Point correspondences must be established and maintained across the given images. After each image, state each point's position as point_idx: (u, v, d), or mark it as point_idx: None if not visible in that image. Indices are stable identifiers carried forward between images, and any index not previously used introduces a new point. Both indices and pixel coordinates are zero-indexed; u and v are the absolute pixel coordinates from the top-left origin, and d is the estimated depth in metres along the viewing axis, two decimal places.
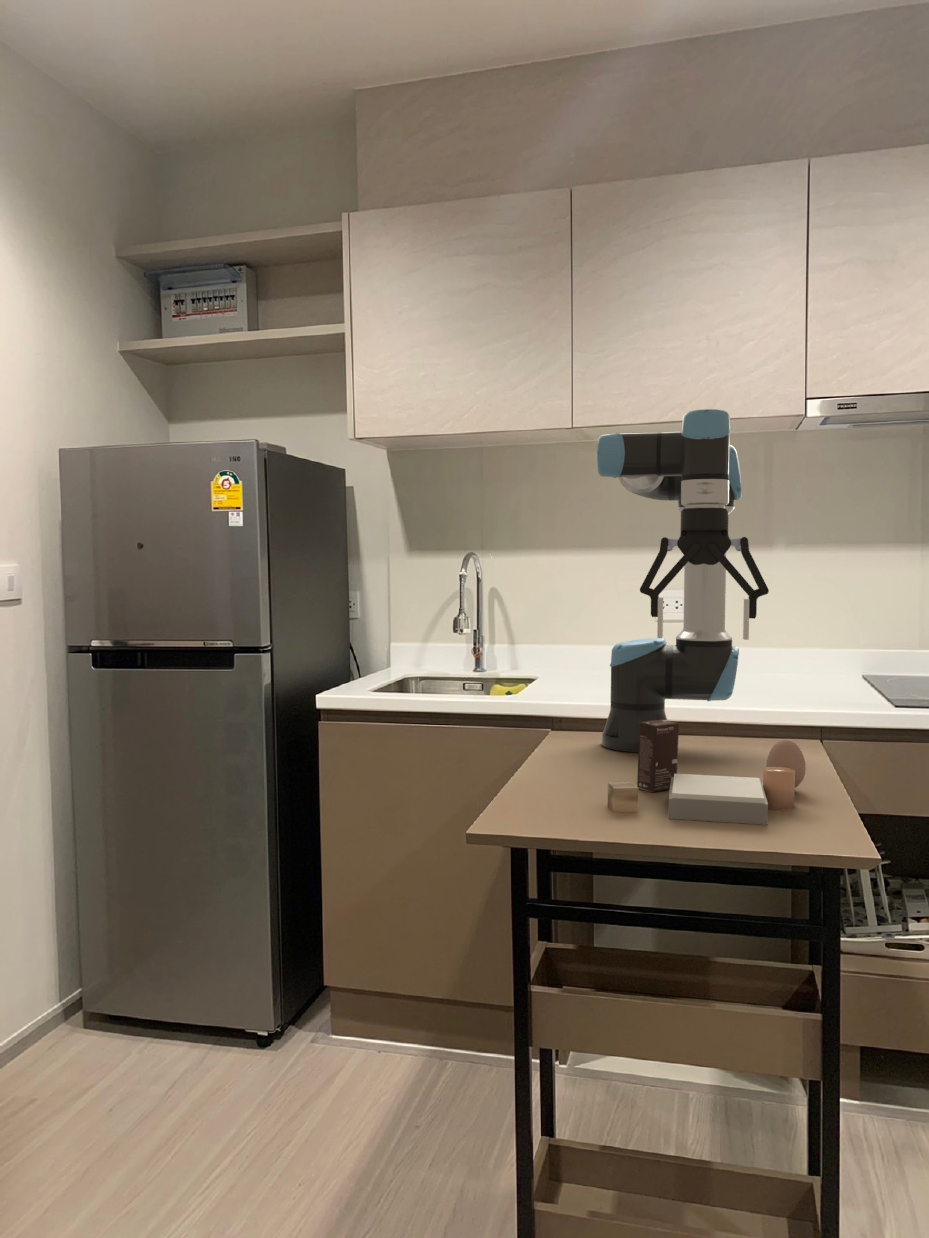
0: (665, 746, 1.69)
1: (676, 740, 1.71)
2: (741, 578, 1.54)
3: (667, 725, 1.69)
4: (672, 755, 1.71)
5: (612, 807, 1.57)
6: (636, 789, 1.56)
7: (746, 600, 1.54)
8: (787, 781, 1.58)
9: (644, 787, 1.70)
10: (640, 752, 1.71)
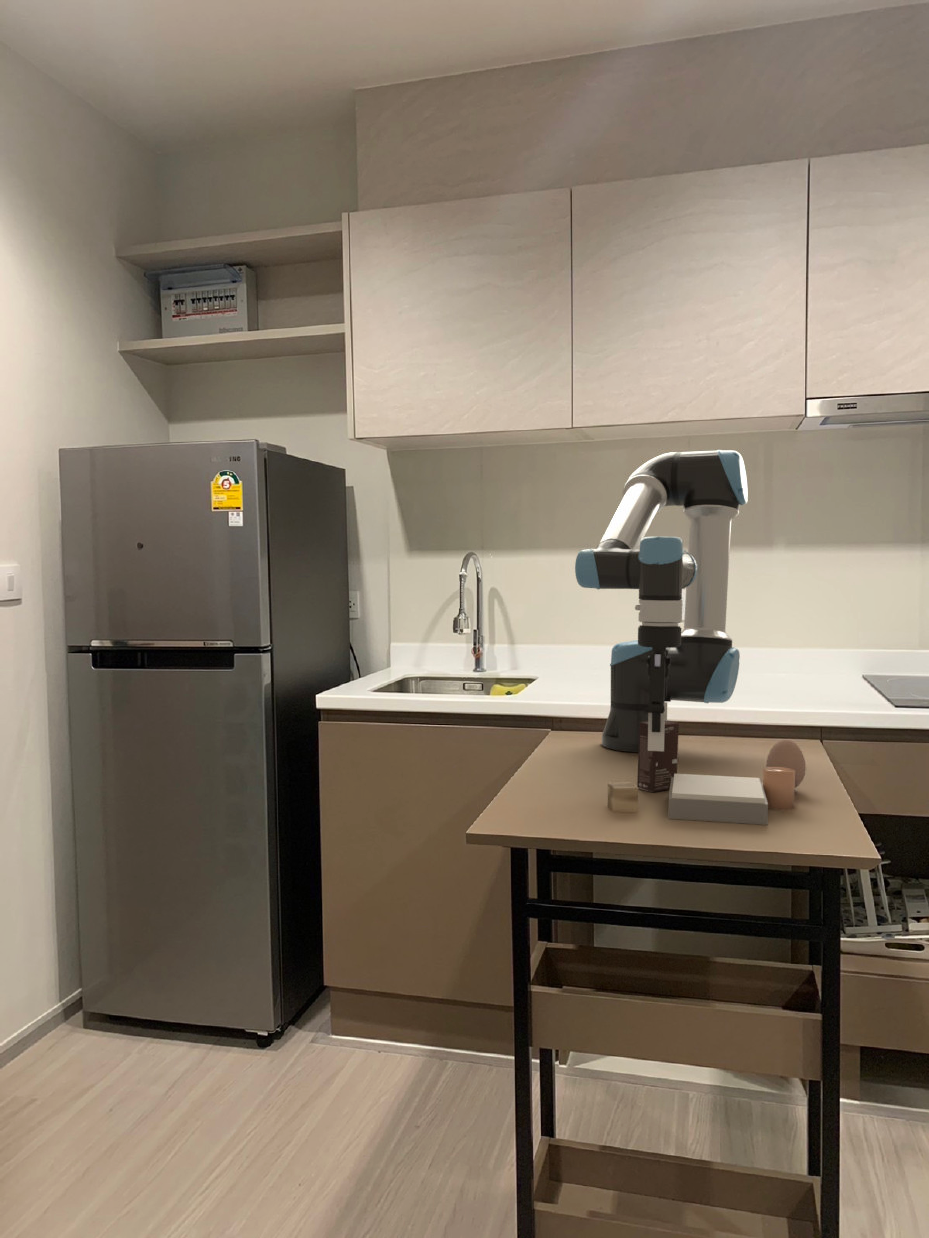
0: (665, 746, 1.69)
1: (676, 740, 1.71)
2: None
3: (667, 725, 1.69)
4: (672, 755, 1.71)
5: (612, 807, 1.57)
6: (636, 789, 1.56)
7: None
8: (787, 781, 1.58)
9: (644, 787, 1.70)
10: (640, 752, 1.71)
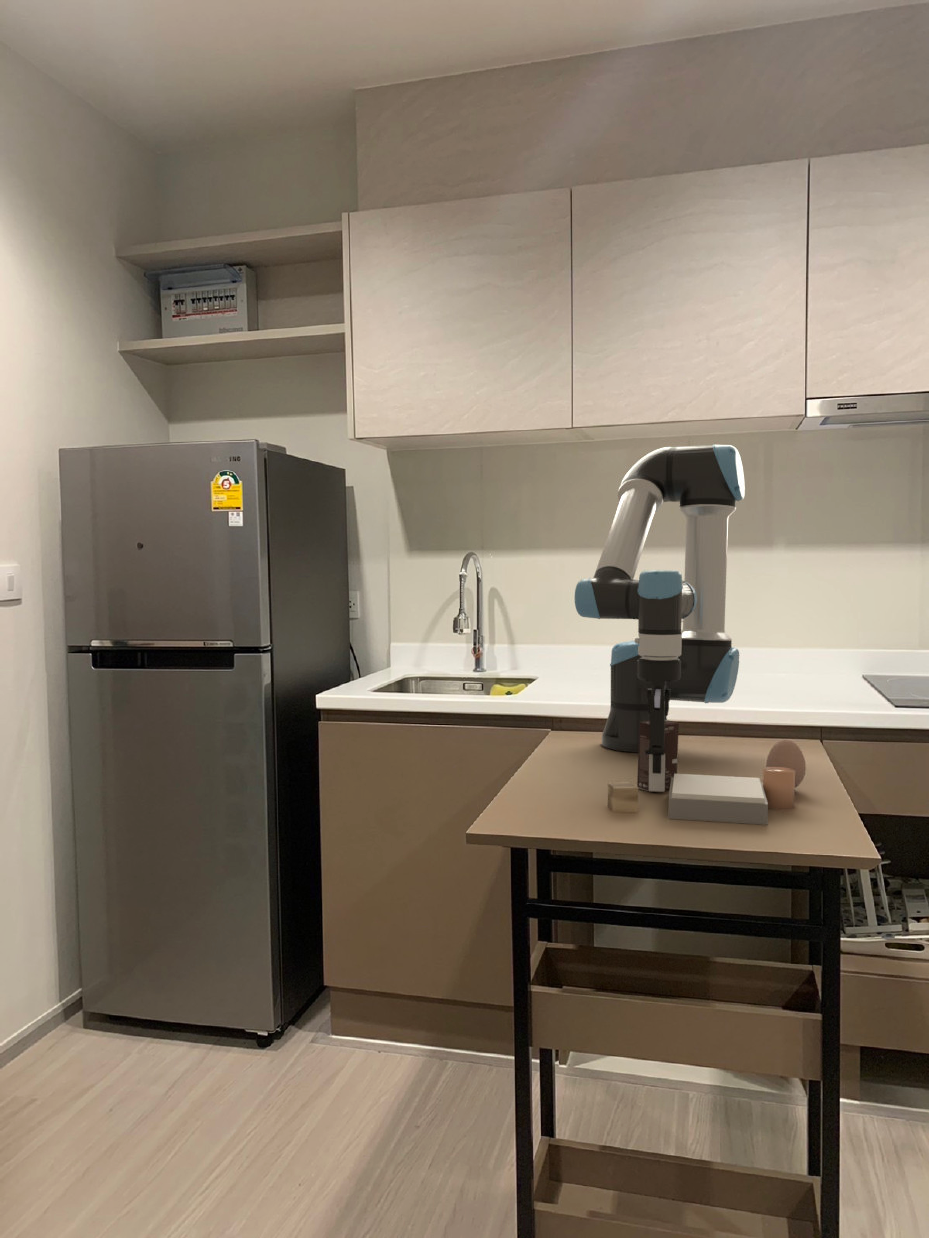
0: (665, 746, 1.69)
1: (676, 740, 1.71)
2: None
3: (667, 725, 1.69)
4: (672, 755, 1.71)
5: (612, 807, 1.57)
6: (636, 789, 1.56)
7: (649, 754, 1.68)
8: (787, 781, 1.58)
9: (644, 787, 1.70)
10: (640, 752, 1.71)
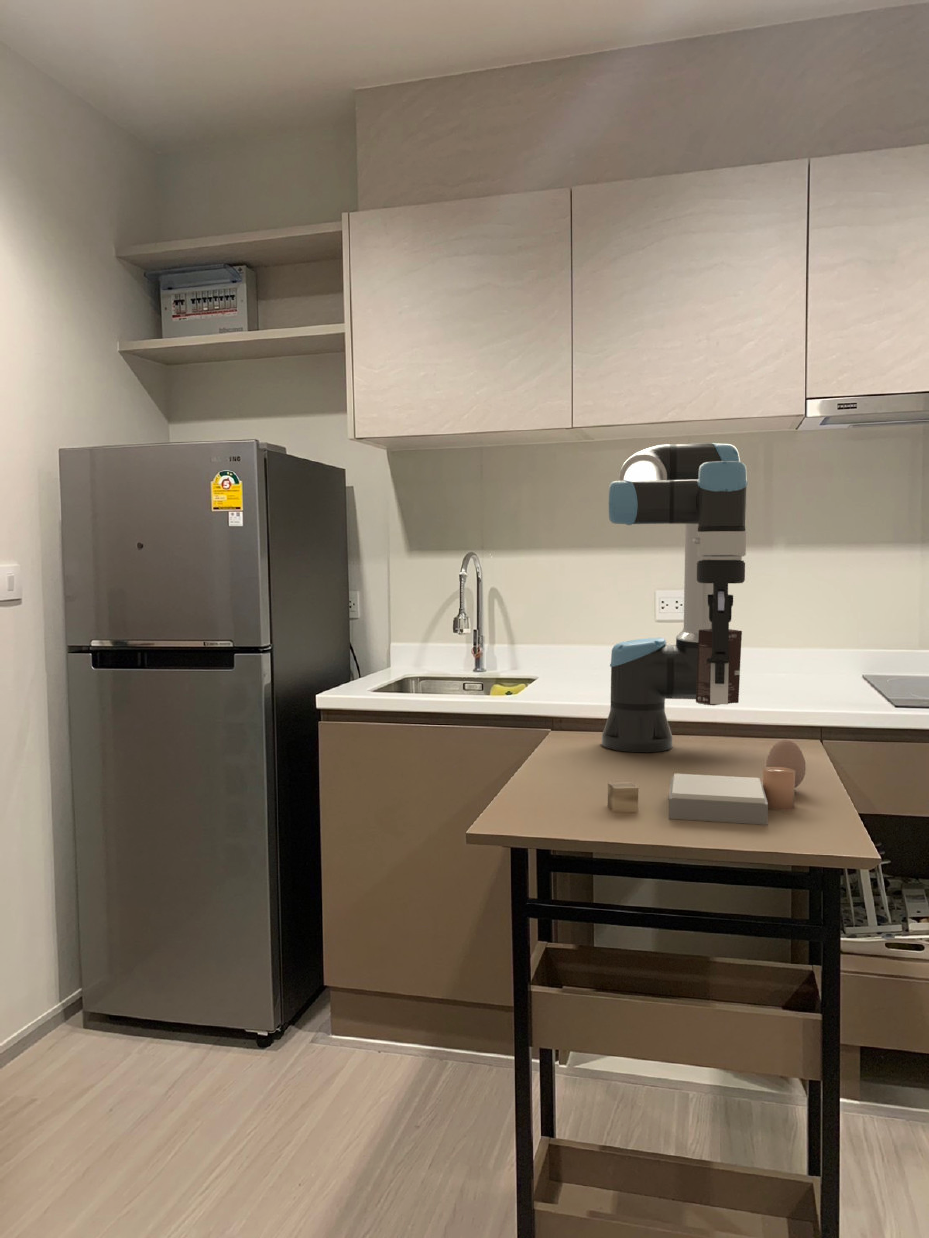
0: None
1: (739, 650, 1.56)
2: (712, 639, 1.52)
3: (729, 632, 1.54)
4: (735, 666, 1.55)
5: (612, 807, 1.57)
6: (636, 789, 1.56)
7: None
8: (787, 781, 1.58)
9: (704, 701, 1.55)
10: (699, 663, 1.56)
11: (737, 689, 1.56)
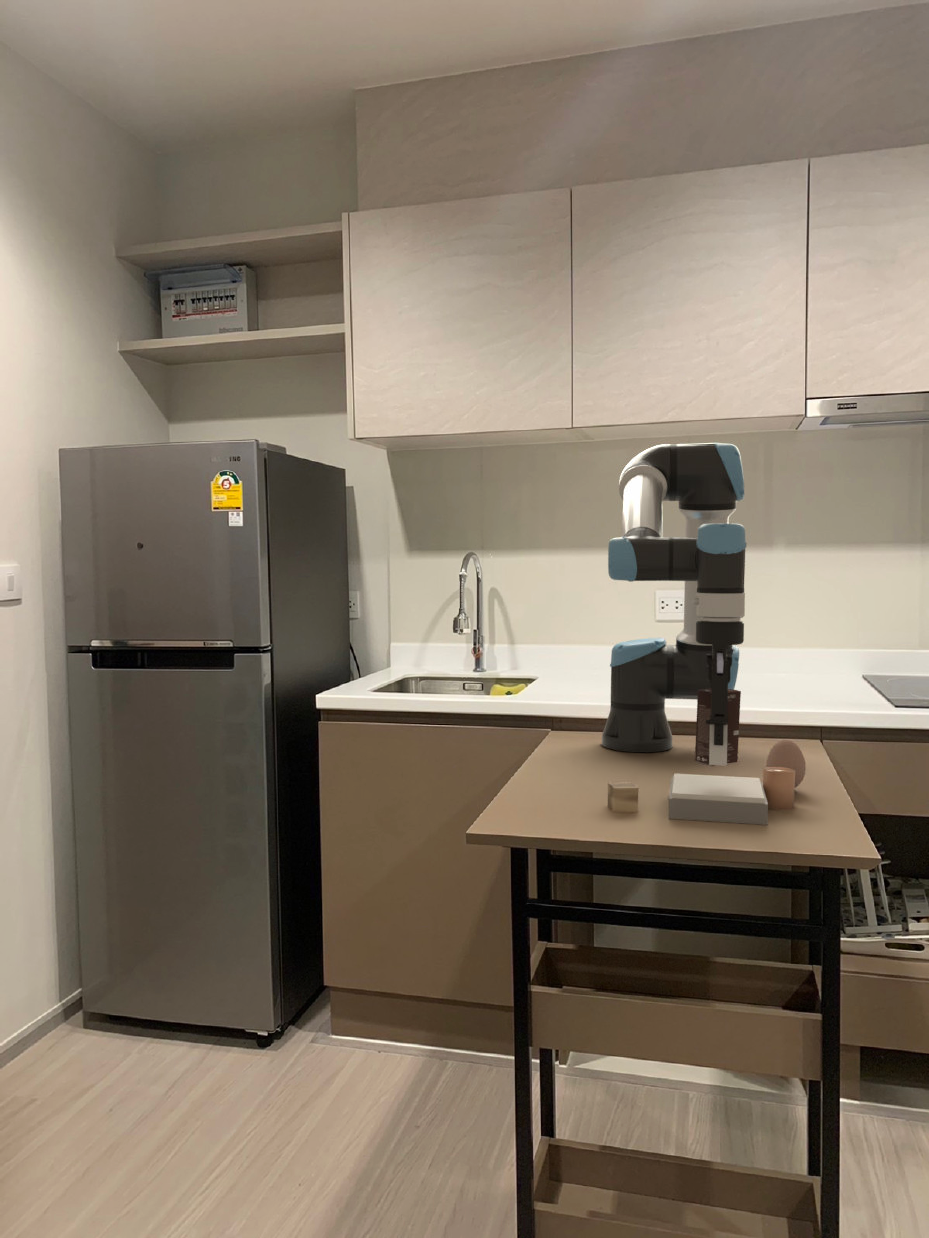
0: None
1: (738, 710, 1.56)
2: (711, 700, 1.53)
3: (728, 693, 1.55)
4: (733, 726, 1.56)
5: (612, 807, 1.57)
6: (636, 789, 1.56)
7: None
8: (787, 781, 1.58)
9: (703, 761, 1.56)
10: (698, 723, 1.56)
11: (736, 749, 1.57)
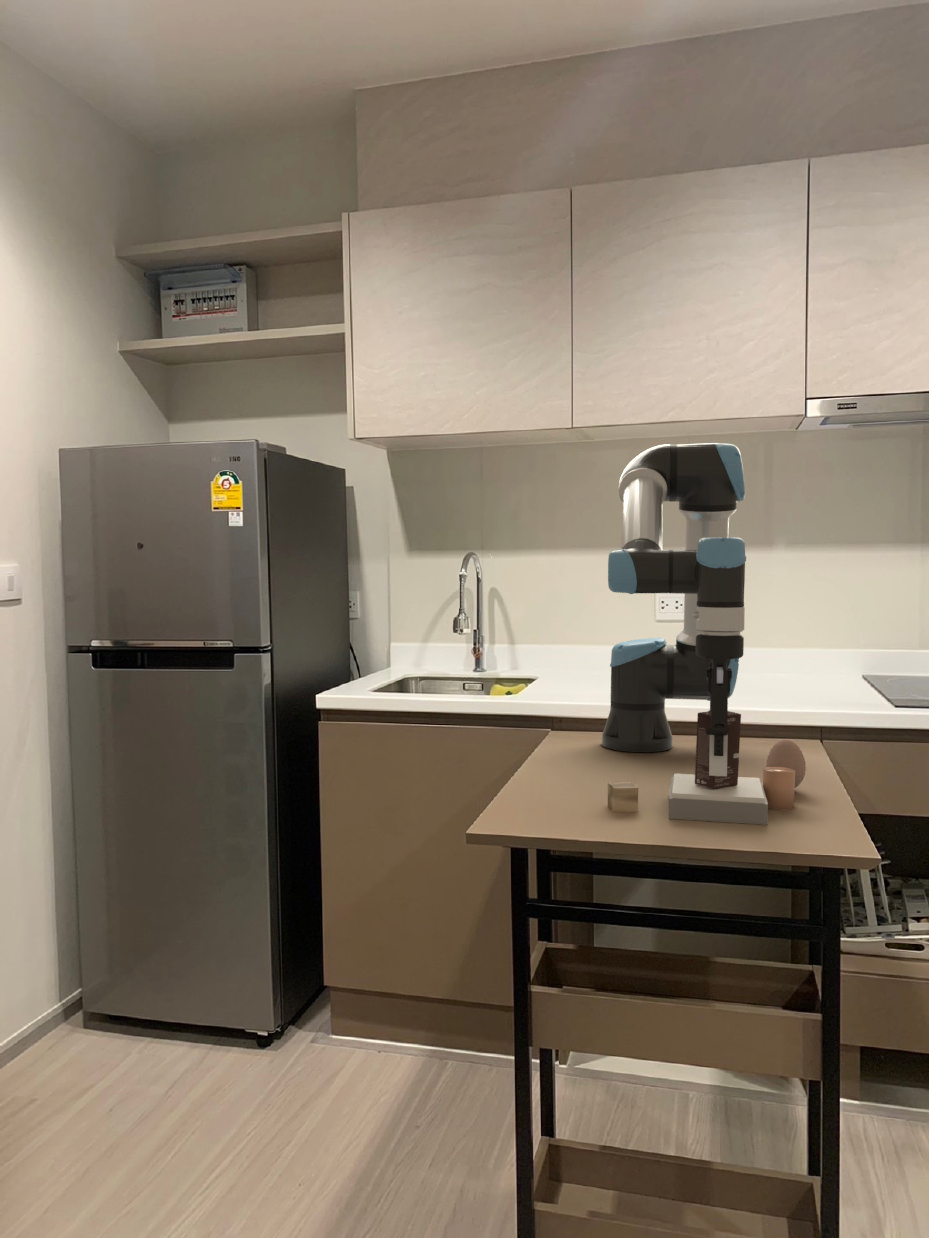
0: None
1: (738, 733, 1.56)
2: None
3: (728, 716, 1.55)
4: (733, 749, 1.56)
5: (612, 807, 1.57)
6: (636, 789, 1.56)
7: None
8: (787, 781, 1.58)
9: (702, 784, 1.56)
10: (698, 745, 1.57)
11: (736, 772, 1.57)
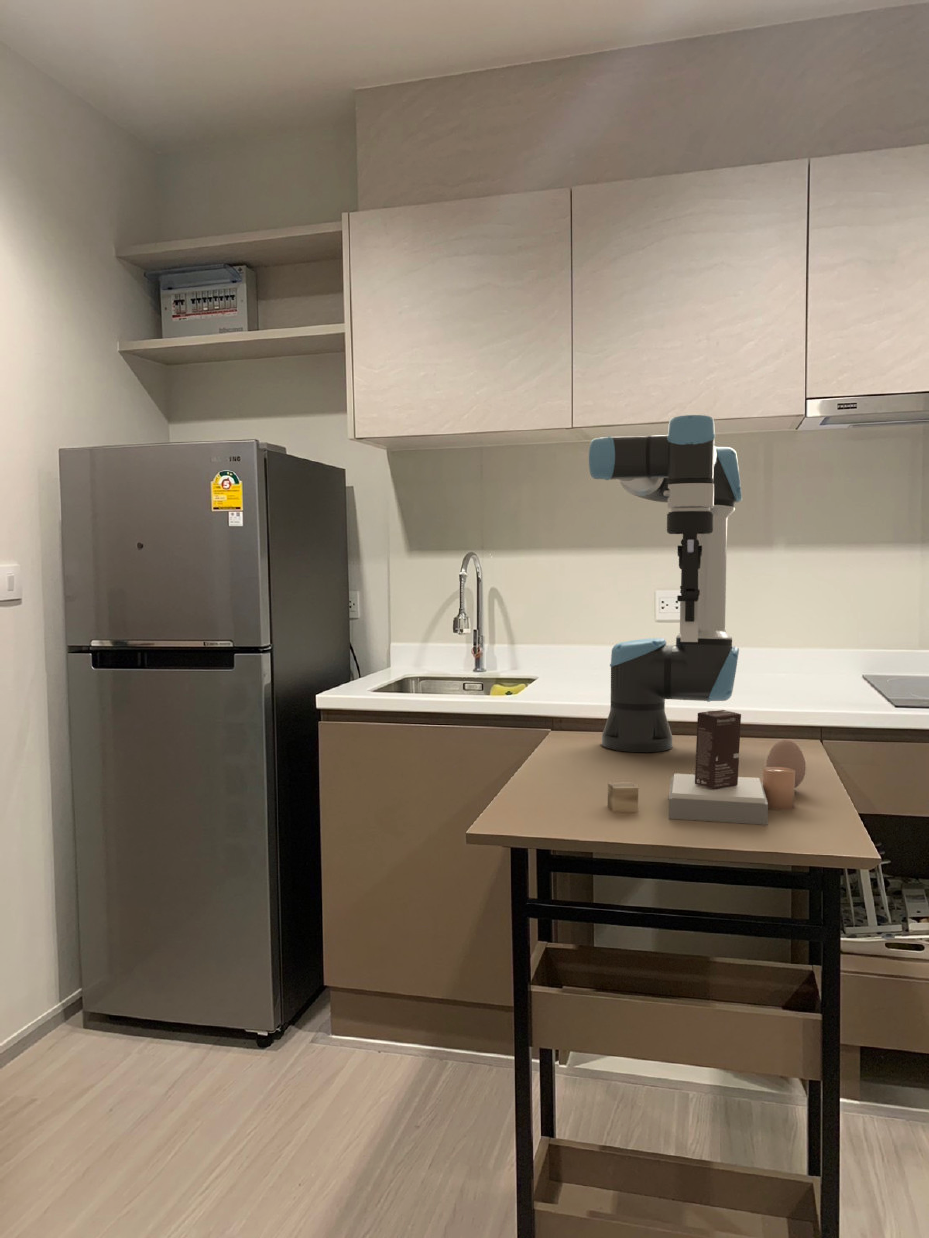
0: (726, 739, 1.55)
1: (738, 733, 1.56)
2: None
3: (728, 716, 1.55)
4: (733, 749, 1.56)
5: (612, 807, 1.57)
6: (636, 789, 1.56)
7: (681, 602, 1.55)
8: (787, 781, 1.58)
9: (702, 784, 1.56)
10: (698, 745, 1.57)
11: (736, 772, 1.57)
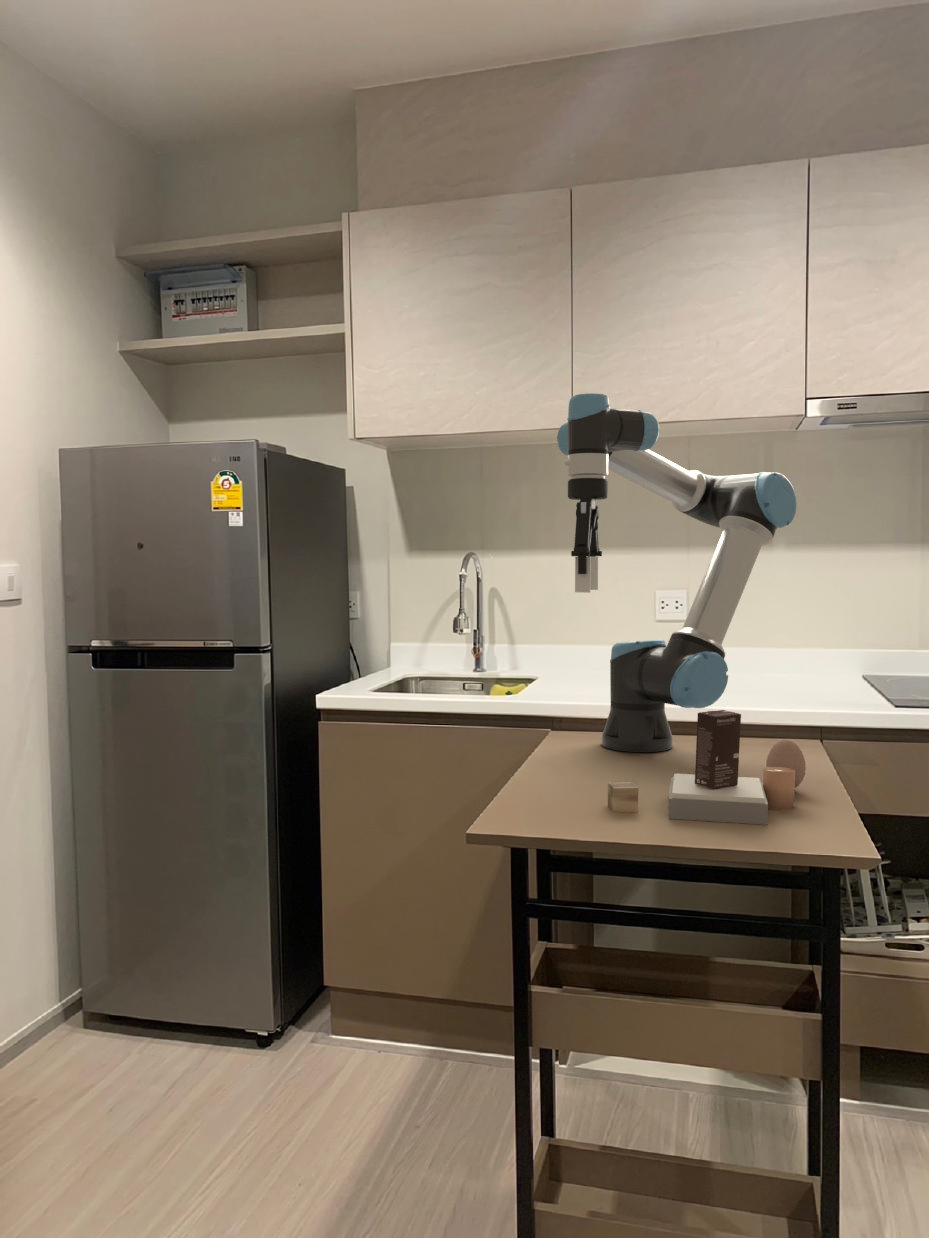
0: (726, 739, 1.55)
1: (738, 733, 1.56)
2: None
3: (728, 716, 1.55)
4: (733, 749, 1.56)
5: (612, 807, 1.57)
6: (636, 789, 1.56)
7: None
8: (787, 781, 1.58)
9: (702, 784, 1.56)
10: (698, 745, 1.57)
11: (736, 772, 1.57)
